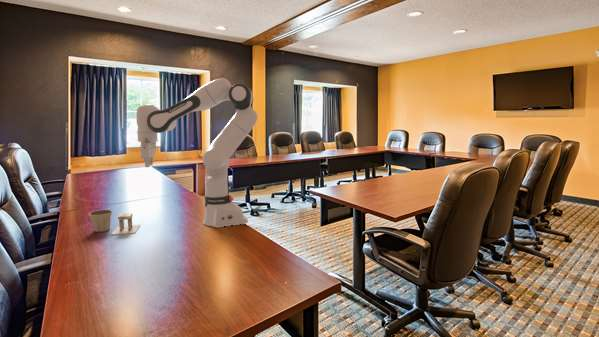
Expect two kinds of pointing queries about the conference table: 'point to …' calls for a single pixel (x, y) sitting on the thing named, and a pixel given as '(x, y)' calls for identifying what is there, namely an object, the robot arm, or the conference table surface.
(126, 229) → the mat
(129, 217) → the stool
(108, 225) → the flower pot
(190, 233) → the conference table surface
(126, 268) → the conference table surface
